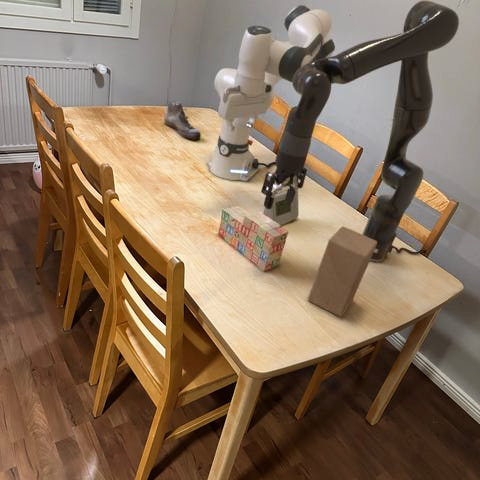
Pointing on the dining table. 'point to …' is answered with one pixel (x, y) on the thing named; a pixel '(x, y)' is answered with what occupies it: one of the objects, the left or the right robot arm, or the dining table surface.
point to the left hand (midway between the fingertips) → (240, 129)
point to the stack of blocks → (253, 236)
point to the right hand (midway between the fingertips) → (278, 204)
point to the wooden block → (341, 270)
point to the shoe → (180, 121)
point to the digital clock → (283, 208)
